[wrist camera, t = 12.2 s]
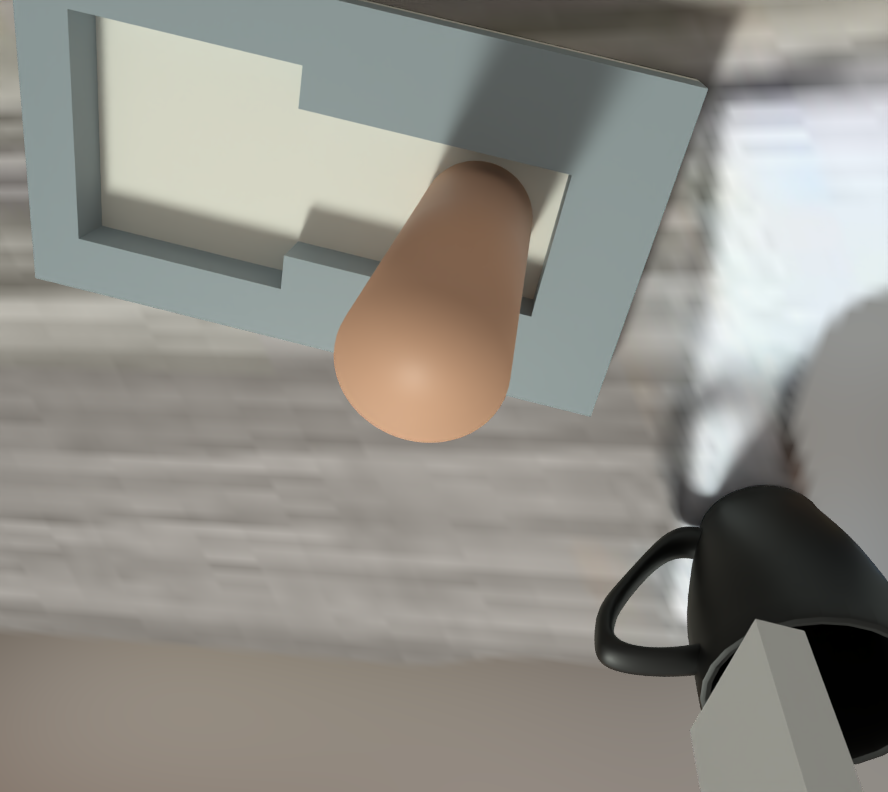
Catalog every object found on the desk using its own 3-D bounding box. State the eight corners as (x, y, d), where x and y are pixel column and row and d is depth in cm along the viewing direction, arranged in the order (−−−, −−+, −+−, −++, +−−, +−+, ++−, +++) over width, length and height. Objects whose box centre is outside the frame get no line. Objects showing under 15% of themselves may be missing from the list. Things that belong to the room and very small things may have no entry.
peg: (412, 257, 31) (323, 419, 20) (432, 148, 29) (345, 261, 18) (517, 282, 31) (488, 460, 20) (545, 175, 29) (531, 307, 17)
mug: (605, 439, 35) (616, 585, 26) (879, 472, 33) (980, 636, 25) (579, 574, 39) (582, 737, 31) (823, 607, 38) (894, 786, 29)
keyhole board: (67, 258, 34) (35, 278, 32) (48, -76, 27) (6, -79, 25) (589, 388, 33) (590, 416, 31) (697, 79, 27) (708, 88, 25)
